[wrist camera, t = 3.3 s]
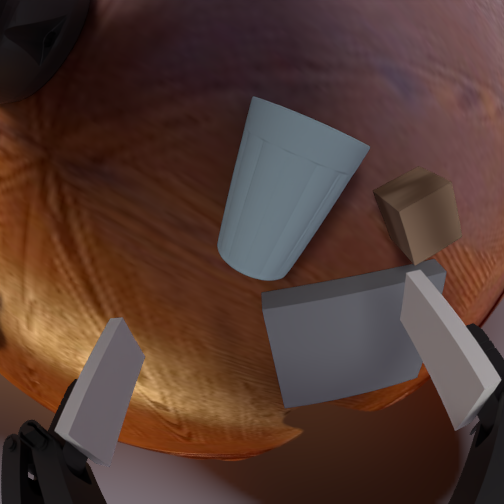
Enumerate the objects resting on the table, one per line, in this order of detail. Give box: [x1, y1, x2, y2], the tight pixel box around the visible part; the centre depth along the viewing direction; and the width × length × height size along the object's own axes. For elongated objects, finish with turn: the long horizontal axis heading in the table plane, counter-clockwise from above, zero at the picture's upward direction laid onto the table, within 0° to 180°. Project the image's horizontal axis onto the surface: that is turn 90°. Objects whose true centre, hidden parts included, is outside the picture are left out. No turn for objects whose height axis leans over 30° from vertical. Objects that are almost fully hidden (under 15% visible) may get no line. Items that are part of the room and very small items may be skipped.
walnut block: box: [373, 166, 462, 265], centre depth 20 cm, size 5×5×5 cm
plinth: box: [261, 259, 446, 408], centre depth 28 cm, size 18×17×2 cm
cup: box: [217, 96, 370, 280], centre depth 18 cm, size 8×8×10 cm
